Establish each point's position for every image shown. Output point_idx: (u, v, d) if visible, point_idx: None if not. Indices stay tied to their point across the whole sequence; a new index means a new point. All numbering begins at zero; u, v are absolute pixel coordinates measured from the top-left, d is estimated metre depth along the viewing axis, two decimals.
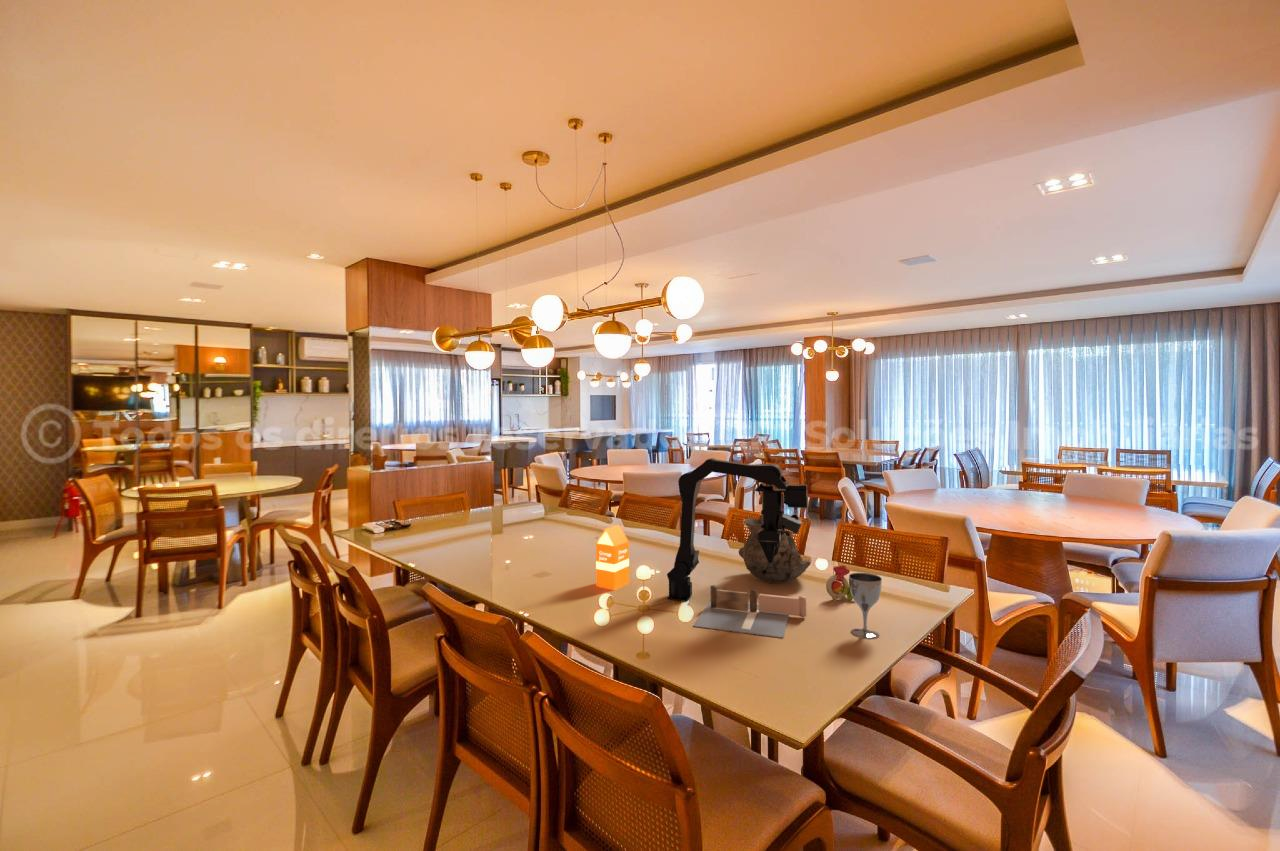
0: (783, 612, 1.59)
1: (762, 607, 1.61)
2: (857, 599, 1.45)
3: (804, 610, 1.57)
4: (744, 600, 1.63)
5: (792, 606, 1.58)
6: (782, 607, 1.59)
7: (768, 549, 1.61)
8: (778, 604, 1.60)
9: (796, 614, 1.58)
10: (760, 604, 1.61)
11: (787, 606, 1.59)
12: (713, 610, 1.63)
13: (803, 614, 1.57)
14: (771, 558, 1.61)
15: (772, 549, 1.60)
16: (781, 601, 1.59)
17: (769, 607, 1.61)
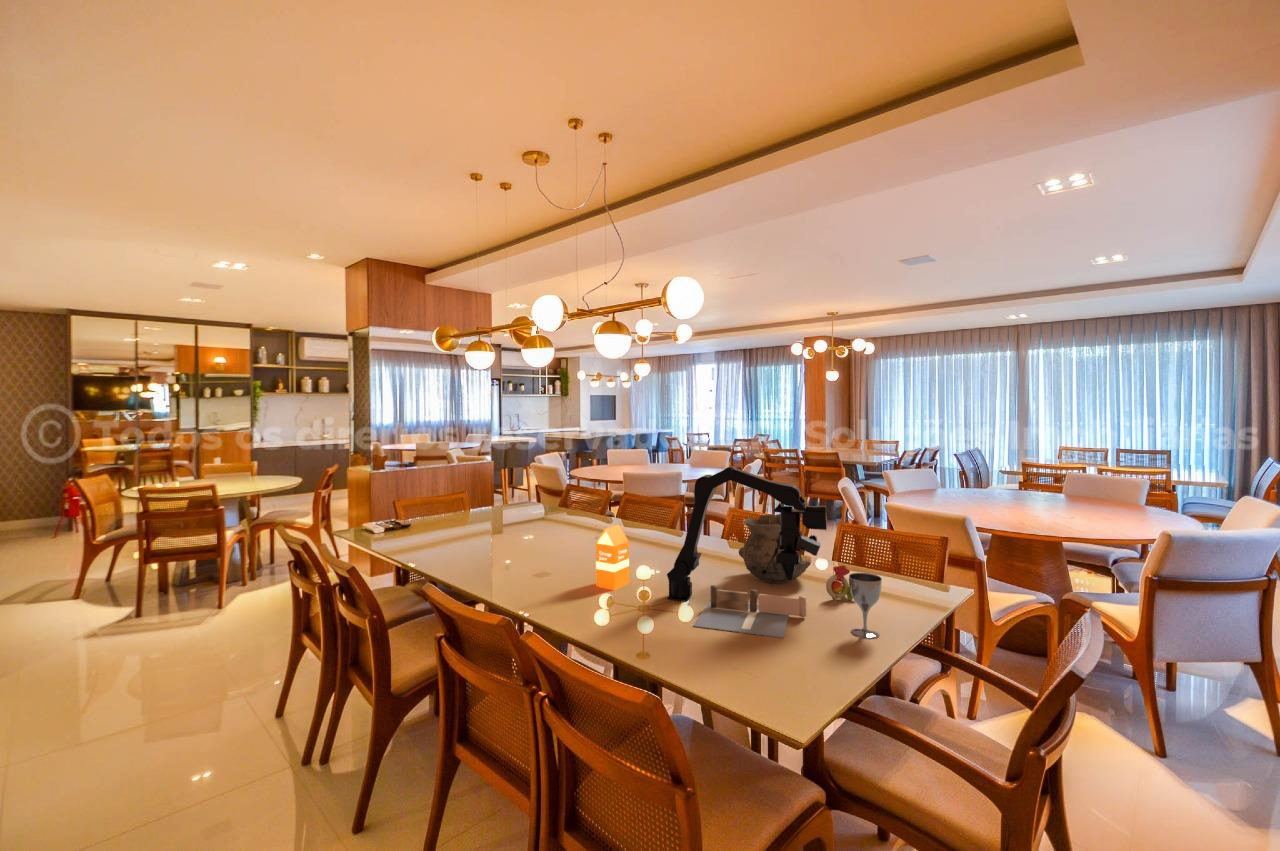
0: (783, 612, 1.59)
1: (762, 607, 1.61)
2: (857, 599, 1.45)
3: (804, 610, 1.57)
4: (744, 600, 1.63)
5: (792, 606, 1.58)
6: (782, 607, 1.59)
7: (788, 567, 1.63)
8: (778, 604, 1.60)
9: (796, 614, 1.58)
10: (760, 604, 1.61)
11: (787, 606, 1.59)
12: (713, 610, 1.63)
13: (803, 614, 1.57)
14: (791, 576, 1.64)
15: (792, 567, 1.63)
16: (781, 601, 1.59)
17: (769, 607, 1.61)
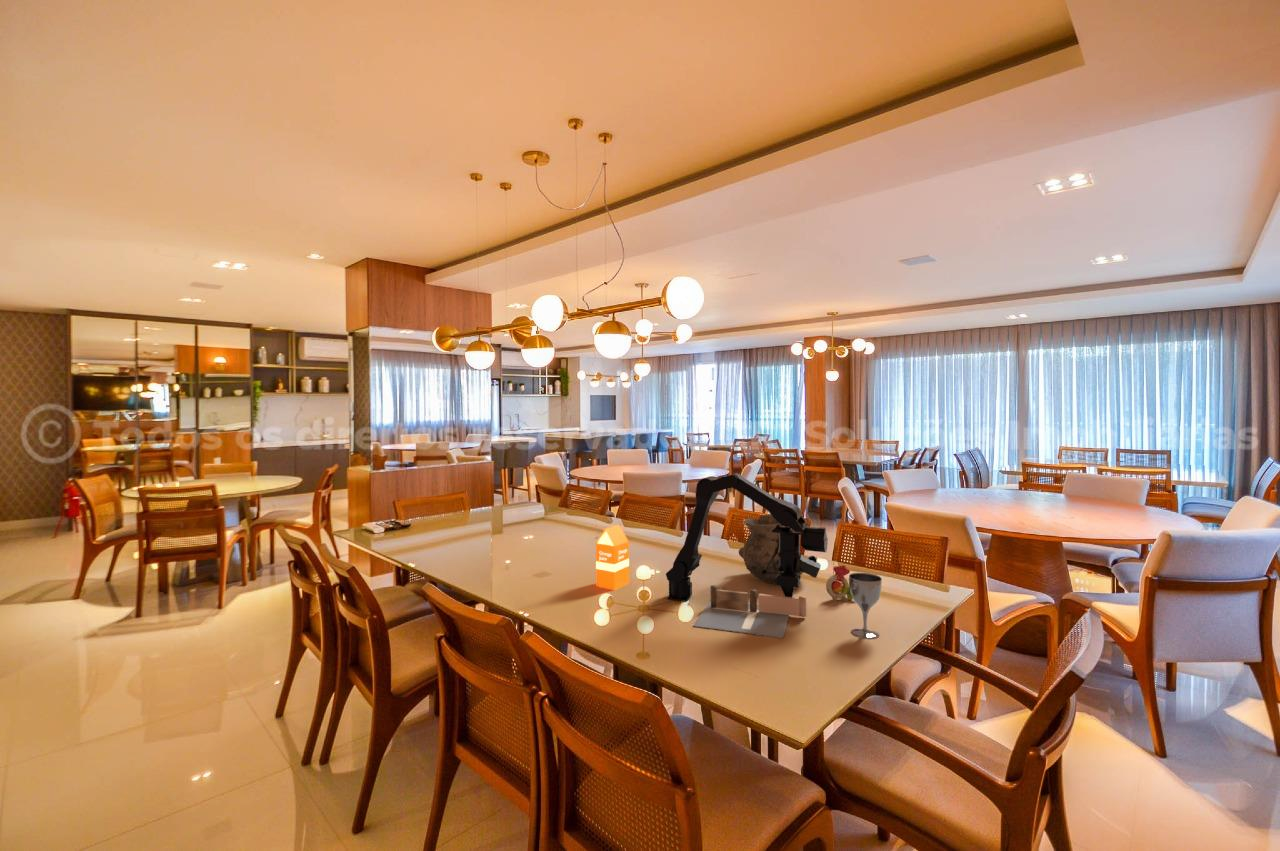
0: (783, 612, 1.59)
1: (762, 607, 1.61)
2: (857, 599, 1.45)
3: (804, 610, 1.57)
4: (744, 600, 1.63)
5: (792, 606, 1.58)
6: (782, 607, 1.59)
7: (787, 589, 1.60)
8: (778, 604, 1.60)
9: (796, 614, 1.58)
10: (760, 604, 1.61)
11: (787, 606, 1.59)
12: (713, 610, 1.63)
13: (803, 614, 1.57)
14: None
15: (791, 589, 1.59)
16: (781, 601, 1.59)
17: (769, 607, 1.61)
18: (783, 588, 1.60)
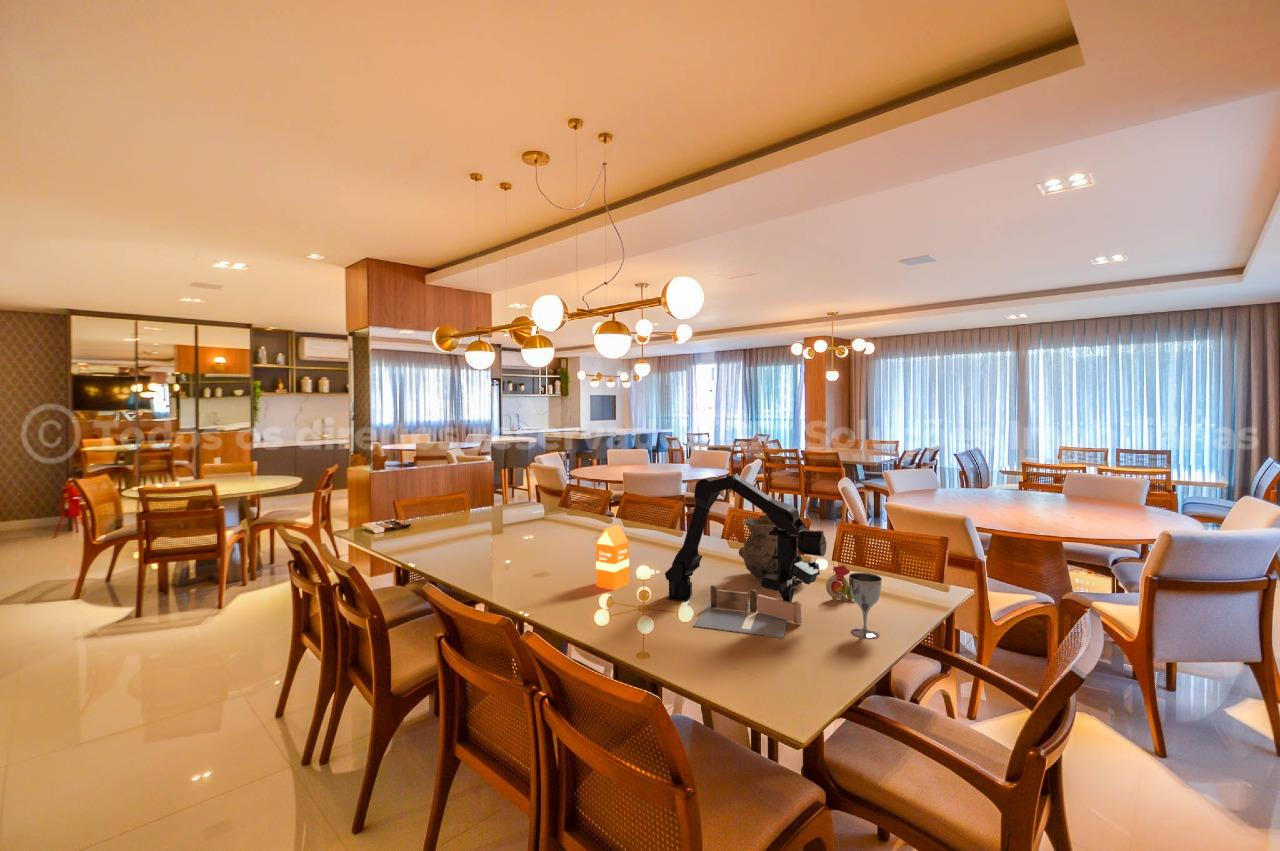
0: (779, 616, 1.57)
1: (760, 608, 1.60)
2: (857, 599, 1.45)
3: (798, 616, 1.53)
4: (744, 600, 1.63)
5: (787, 611, 1.55)
6: (778, 610, 1.57)
7: (784, 592, 1.57)
8: (774, 607, 1.57)
9: (791, 619, 1.54)
10: (758, 605, 1.61)
11: (782, 610, 1.56)
12: (713, 610, 1.63)
13: (796, 620, 1.53)
14: None
15: (787, 593, 1.56)
16: (777, 604, 1.57)
17: (766, 609, 1.59)
18: (780, 591, 1.57)
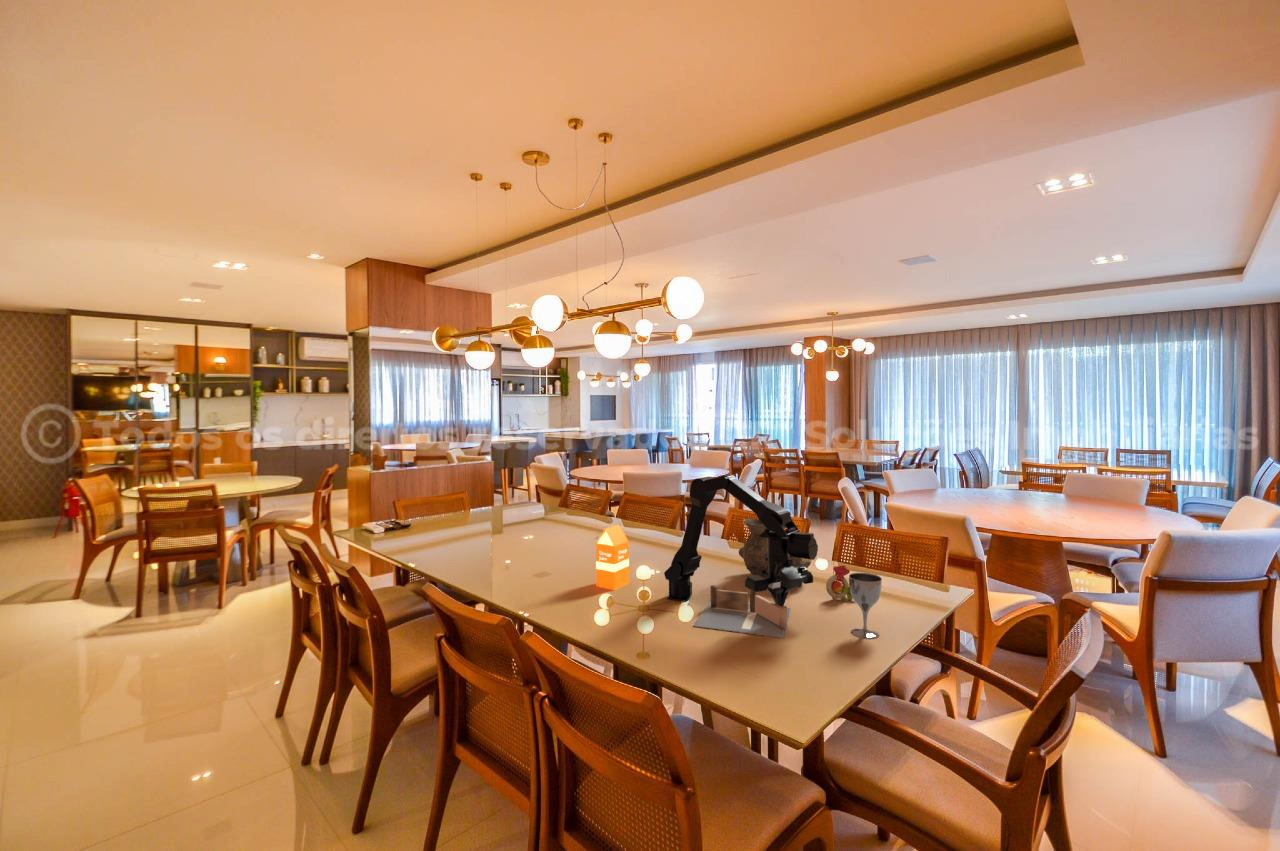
0: (769, 618, 1.55)
1: (757, 608, 1.60)
2: (857, 599, 1.45)
3: (782, 621, 1.49)
4: (744, 600, 1.63)
5: (775, 614, 1.52)
6: (769, 613, 1.55)
7: (775, 596, 1.54)
8: (766, 609, 1.56)
9: (777, 623, 1.51)
10: (755, 605, 1.61)
11: (772, 613, 1.54)
12: (713, 610, 1.63)
13: (781, 625, 1.49)
14: None
15: (776, 596, 1.53)
16: (768, 607, 1.55)
17: (761, 610, 1.58)
18: (771, 594, 1.55)
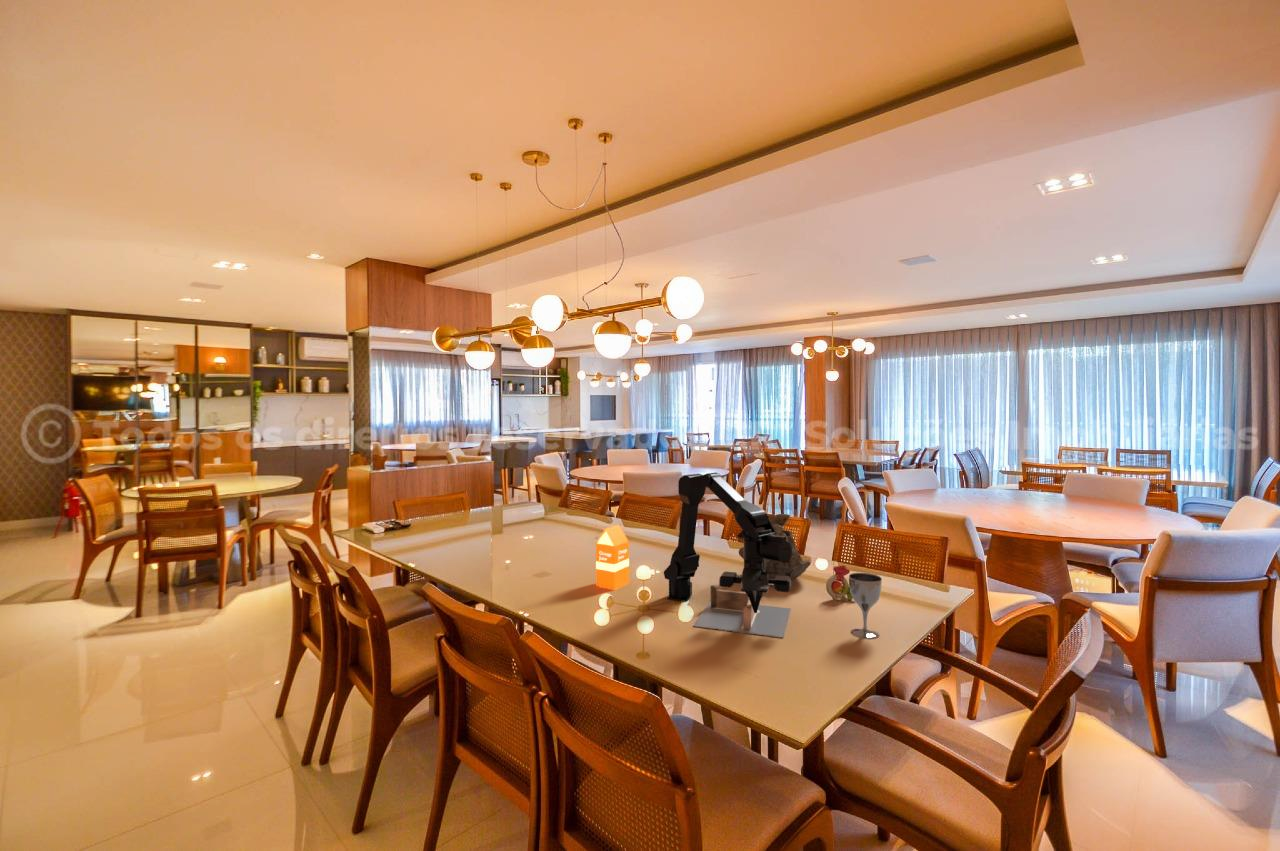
0: None
1: None
2: (857, 599, 1.45)
3: (744, 621, 1.49)
4: (744, 600, 1.63)
5: None
6: None
7: None
8: None
9: None
10: None
11: None
12: (713, 610, 1.63)
13: None
14: None
15: None
16: None
17: None
18: None
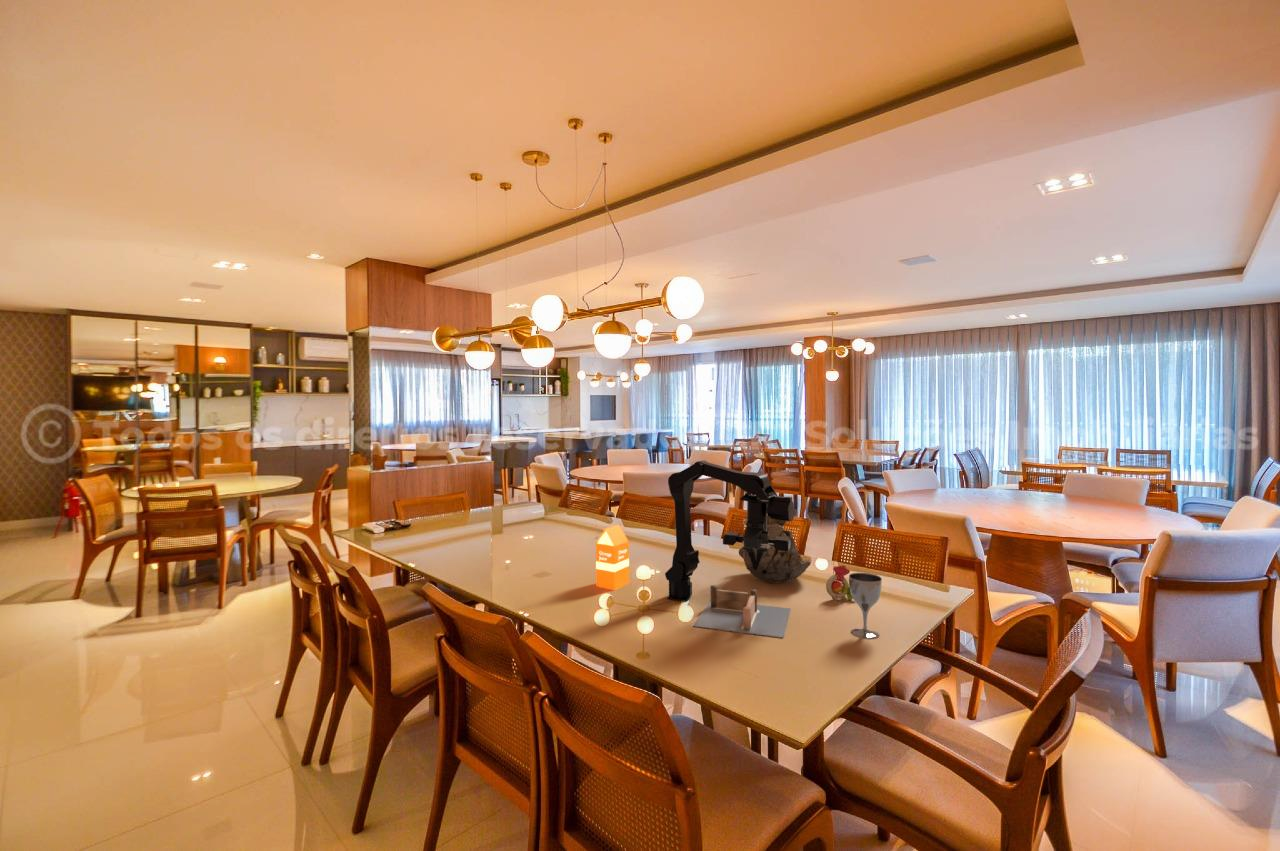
0: None
1: None
2: (857, 599, 1.45)
3: (743, 621, 1.49)
4: (744, 600, 1.63)
5: None
6: None
7: None
8: None
9: None
10: None
11: None
12: (713, 610, 1.63)
13: (743, 625, 1.50)
14: None
15: None
16: None
17: None
18: None
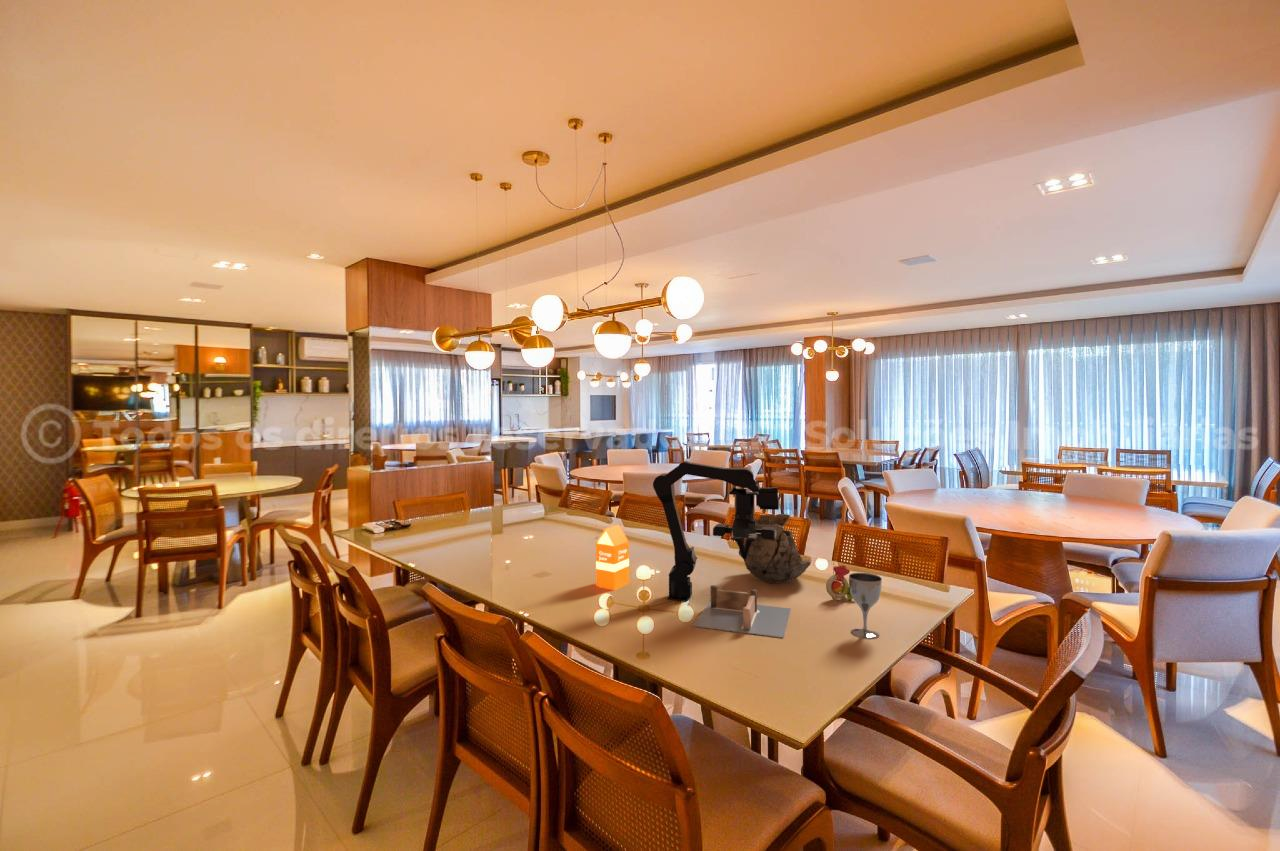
0: None
1: None
2: (857, 599, 1.45)
3: (743, 621, 1.49)
4: (744, 600, 1.63)
5: None
6: None
7: None
8: None
9: None
10: None
11: None
12: (713, 610, 1.63)
13: (743, 625, 1.50)
14: None
15: None
16: None
17: None
18: None
